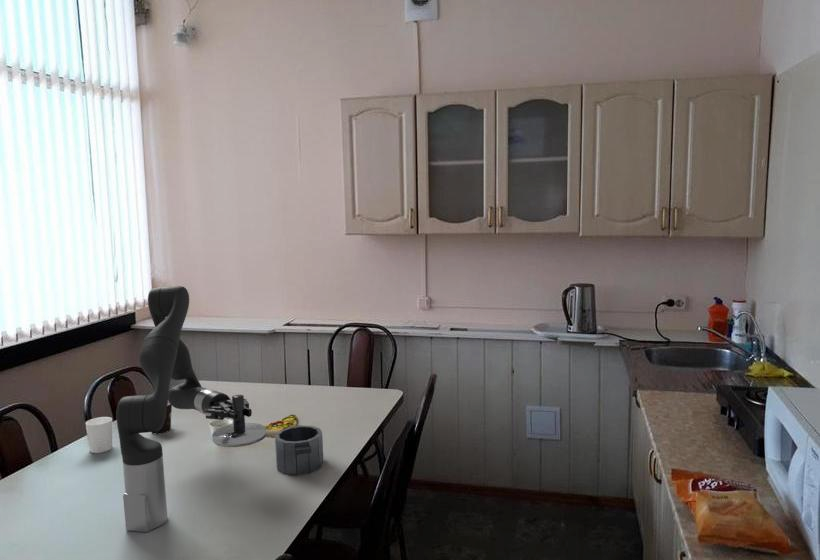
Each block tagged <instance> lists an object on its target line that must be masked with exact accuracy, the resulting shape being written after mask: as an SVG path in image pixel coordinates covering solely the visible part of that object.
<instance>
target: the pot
mask: <svg viewBox="0 0 820 560" xmlns="http://www.w3.org/2000/svg"><path fill="white" fill-rule="evenodd" d="M323 439H324V438H323V431H322V430H321V428H319V427H316V426H312V425H301V424H298V425H296V426H291V427H288V428H286V429H283V430H280V431H279V432H278V433H277V434H276V435H275V437H274V443H275V461H276V462H275V463H276V464H275V465H276V468H277V472H279V473H281V474H283V475H286V474H287V476H301V475H307V474H311V473H313V472H317V471H318V470H320V469H322V467H323V465H324V462H325V461H324V444H323V443H324V442H323Z"/></svg>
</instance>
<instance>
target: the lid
mask: <svg viewBox="0 0 820 560" xmlns="http://www.w3.org/2000/svg"><path fill="white" fill-rule="evenodd" d="M244 399H245V396H244V395H243V394H235V395H232V396H231V400H232V407H233V411H236V412H239V414H240V420H234V419H232V421H233V422H232V423H233V424H229V425H225V426H223V427H219V428H217V429H216V430H214V432H213V433H212V434H211V435H212V436H211V439H212V440H211V441H212V443H213V444H214V445H216V446H218V447H224V448H225V447H226V448H237V447H240V448H241V447H246V446H250V445H254V444H257V443H258V442H260V441H262V440H264V439H265V438H266V437H267V436H266V435H267V431H266V427H265V426H266V425H263V424H261V423H255V422H246V416H245V413H244Z"/></svg>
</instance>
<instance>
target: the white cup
mask: <svg viewBox="0 0 820 560" xmlns="http://www.w3.org/2000/svg"><path fill="white" fill-rule="evenodd" d="M85 428H86V436H87V441H88V446H89V451H90V453H91V454H100V453H104V452H105V453H106V452H108V451H110V450H112V449H113V418H112V417H111V416H100V417H94V418H92V419H91V418H90V419H88V420H87V421H85Z"/></svg>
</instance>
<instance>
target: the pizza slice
mask: <svg viewBox="0 0 820 560" xmlns="http://www.w3.org/2000/svg"><path fill="white" fill-rule="evenodd" d="M297 418H298V417H297V414H290V415H288V416H285V417H284V418H282V419H281V420H276V421H274V422H270V423H269V424H266V425H264V426H265V427H266V431H267V435H266V437H267V436H268V437H269V436H270V437H269V438H275V435H276V434H277V433H278V432H279V431H280V430H283V429H286V428H288V427H291V426H297ZM268 437H267V438H268Z"/></svg>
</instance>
